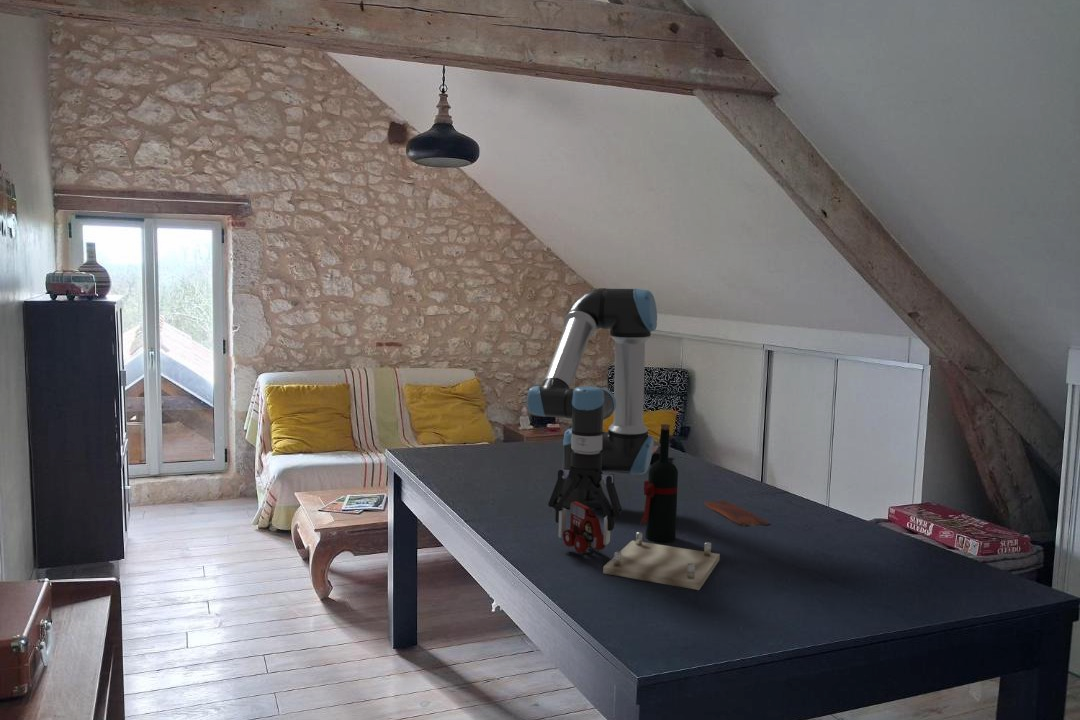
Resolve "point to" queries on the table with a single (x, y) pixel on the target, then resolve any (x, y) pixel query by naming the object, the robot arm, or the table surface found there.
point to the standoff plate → (663, 563)
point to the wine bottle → (661, 495)
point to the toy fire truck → (583, 529)
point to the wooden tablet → (736, 513)
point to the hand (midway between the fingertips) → (583, 539)
